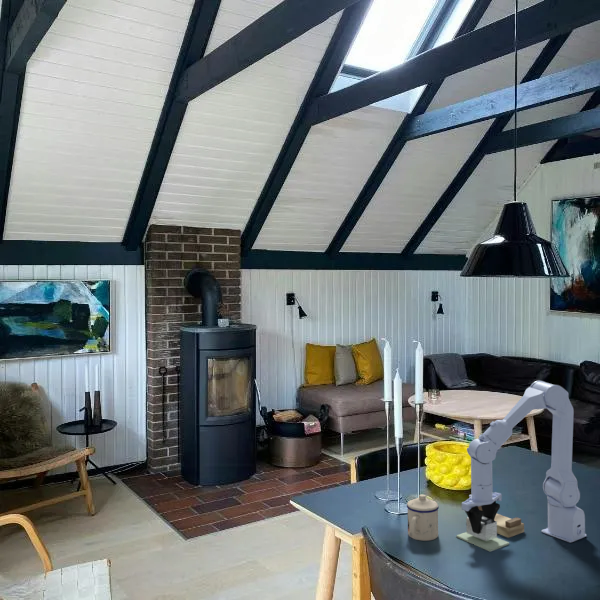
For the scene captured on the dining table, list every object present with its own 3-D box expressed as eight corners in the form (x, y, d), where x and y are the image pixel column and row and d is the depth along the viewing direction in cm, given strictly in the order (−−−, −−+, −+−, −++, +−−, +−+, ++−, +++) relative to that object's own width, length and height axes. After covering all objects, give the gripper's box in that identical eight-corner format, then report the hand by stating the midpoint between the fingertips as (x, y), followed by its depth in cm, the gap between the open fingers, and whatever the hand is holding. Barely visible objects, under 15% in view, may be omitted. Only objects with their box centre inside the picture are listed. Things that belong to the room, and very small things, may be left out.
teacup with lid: (414, 526, 187) (413, 488, 186) (443, 532, 182) (443, 493, 181) (397, 541, 177) (397, 500, 176) (428, 548, 172) (427, 506, 171)
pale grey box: (496, 537, 174) (496, 519, 174) (486, 541, 172) (485, 522, 172) (477, 529, 180) (477, 511, 180) (466, 533, 178) (466, 515, 177)
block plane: (524, 531, 181) (523, 515, 181) (508, 537, 177) (508, 520, 177) (485, 517, 193) (485, 501, 193) (470, 522, 189) (470, 506, 189)
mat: (509, 544, 173) (509, 542, 173) (490, 551, 169) (490, 549, 169) (475, 530, 183) (475, 528, 183) (456, 537, 179) (456, 535, 179)
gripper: (487, 474, 183) (488, 520, 183) (452, 484, 175) (453, 531, 175) (507, 480, 177) (508, 527, 177) (472, 490, 169) (473, 540, 169)
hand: (482, 530), depth 176 cm, fingers closed on pale grey box, 4 cm apart
